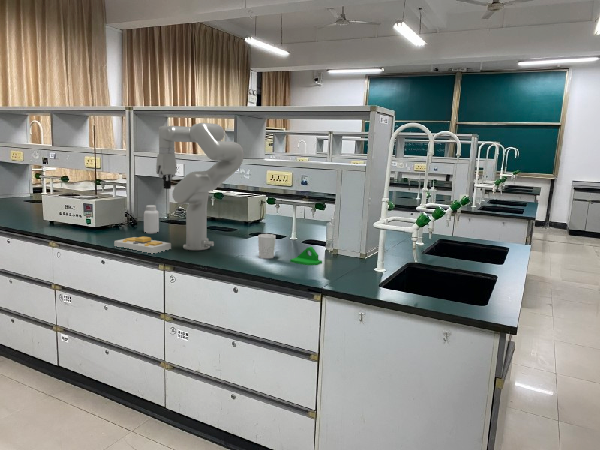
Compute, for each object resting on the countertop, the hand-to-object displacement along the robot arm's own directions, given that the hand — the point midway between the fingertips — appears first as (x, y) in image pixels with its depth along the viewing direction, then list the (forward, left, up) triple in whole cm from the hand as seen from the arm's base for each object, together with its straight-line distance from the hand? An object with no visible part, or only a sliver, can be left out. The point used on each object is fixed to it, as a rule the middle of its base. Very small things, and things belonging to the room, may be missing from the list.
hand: (167, 188), depth 225 cm
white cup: (-57, +12, -27) cm, 64 cm away
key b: (+2, +18, -25) cm, 31 cm away
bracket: (-76, +15, -28) cm, 83 cm away
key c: (+9, +17, -26) cm, 32 cm away
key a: (-4, +20, -26) cm, 33 cm away
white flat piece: (+2, +19, -27) cm, 33 cm away
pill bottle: (+20, -17, -27) cm, 38 cm away
